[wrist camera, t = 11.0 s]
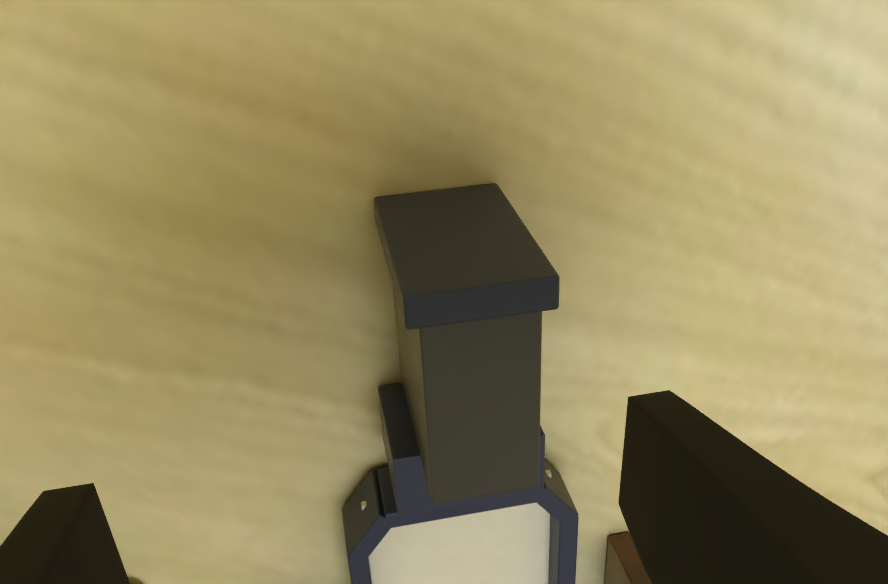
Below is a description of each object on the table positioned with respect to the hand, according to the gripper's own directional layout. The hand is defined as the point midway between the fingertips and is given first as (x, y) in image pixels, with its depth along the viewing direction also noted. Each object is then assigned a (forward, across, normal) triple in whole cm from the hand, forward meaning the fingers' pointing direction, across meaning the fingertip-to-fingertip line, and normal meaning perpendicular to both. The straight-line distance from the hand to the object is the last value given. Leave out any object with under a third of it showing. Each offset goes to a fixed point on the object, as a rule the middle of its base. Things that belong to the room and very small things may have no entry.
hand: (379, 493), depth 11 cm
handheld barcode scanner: (+10, -3, +8) cm, 14 cm away
